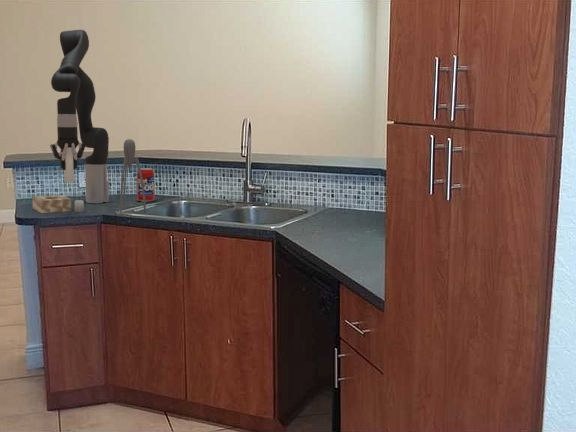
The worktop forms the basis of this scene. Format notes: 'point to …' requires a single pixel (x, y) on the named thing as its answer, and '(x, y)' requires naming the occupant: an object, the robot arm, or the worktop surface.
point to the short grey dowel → (79, 206)
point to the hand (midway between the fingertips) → (68, 169)
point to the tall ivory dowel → (69, 166)
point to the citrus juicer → (128, 160)
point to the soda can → (146, 185)
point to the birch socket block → (51, 204)
